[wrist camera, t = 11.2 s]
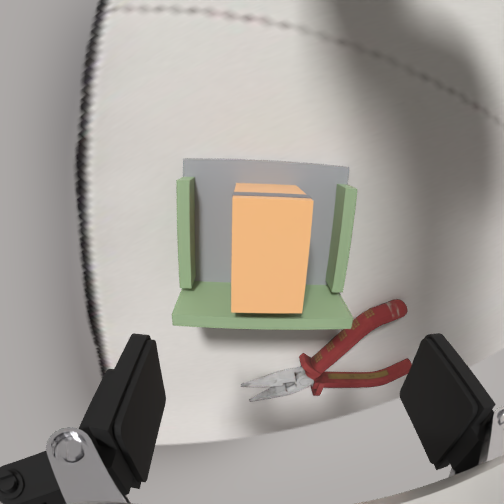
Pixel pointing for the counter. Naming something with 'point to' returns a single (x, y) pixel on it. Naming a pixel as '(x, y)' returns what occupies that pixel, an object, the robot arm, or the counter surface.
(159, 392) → the robot arm
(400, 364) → the pliers
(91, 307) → the counter surface
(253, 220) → the chute block
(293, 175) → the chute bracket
